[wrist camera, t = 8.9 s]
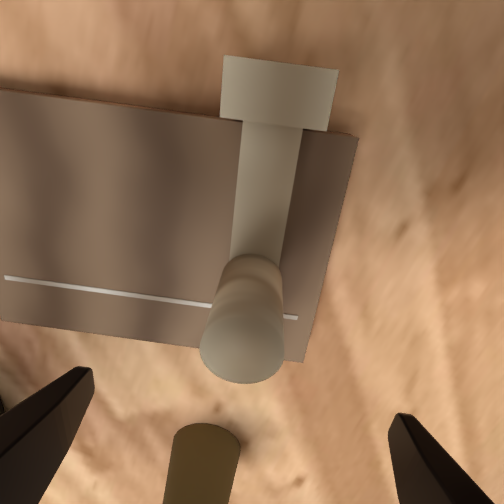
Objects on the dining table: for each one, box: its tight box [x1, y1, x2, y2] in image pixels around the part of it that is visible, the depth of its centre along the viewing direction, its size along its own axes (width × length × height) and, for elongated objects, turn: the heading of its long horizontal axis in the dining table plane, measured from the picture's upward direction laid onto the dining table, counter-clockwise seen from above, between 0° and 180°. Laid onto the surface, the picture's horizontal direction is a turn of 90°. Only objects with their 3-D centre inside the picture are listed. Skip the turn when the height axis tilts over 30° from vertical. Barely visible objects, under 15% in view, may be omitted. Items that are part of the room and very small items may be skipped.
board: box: [0, 88, 359, 363], centre depth 19 cm, size 20×14×2 cm
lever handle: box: [200, 55, 339, 384], centre depth 14 cm, size 4×13×9 cm, turn 173°
